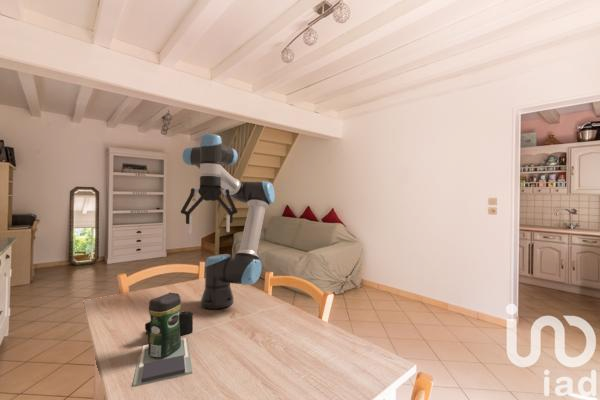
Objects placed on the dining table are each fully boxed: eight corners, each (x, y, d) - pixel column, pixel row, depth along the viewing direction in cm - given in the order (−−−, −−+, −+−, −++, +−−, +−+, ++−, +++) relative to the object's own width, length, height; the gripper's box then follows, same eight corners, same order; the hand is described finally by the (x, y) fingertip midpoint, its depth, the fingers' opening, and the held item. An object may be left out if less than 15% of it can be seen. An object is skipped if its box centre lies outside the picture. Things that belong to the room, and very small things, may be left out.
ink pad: (185, 358, 88) (185, 354, 88) (186, 372, 80) (186, 368, 80) (142, 367, 83) (142, 363, 83) (139, 383, 75) (139, 379, 75)
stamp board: (187, 339, 101) (187, 337, 101) (192, 373, 81) (192, 370, 81) (140, 348, 95) (140, 345, 95) (132, 387, 75) (132, 384, 75)
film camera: (178, 324, 114) (178, 299, 114) (198, 331, 108) (198, 305, 108) (133, 342, 99) (134, 314, 99) (153, 352, 92) (154, 322, 92)
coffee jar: (167, 342, 98) (168, 289, 98) (184, 346, 95) (185, 292, 95) (142, 356, 89) (143, 298, 89) (161, 361, 86) (162, 301, 86)
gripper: (241, 178, 113) (240, 230, 113) (174, 175, 103) (173, 232, 102) (245, 177, 107) (244, 232, 106) (174, 173, 96) (173, 234, 96)
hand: (209, 232), depth 104 cm, fingers open, 13 cm apart
